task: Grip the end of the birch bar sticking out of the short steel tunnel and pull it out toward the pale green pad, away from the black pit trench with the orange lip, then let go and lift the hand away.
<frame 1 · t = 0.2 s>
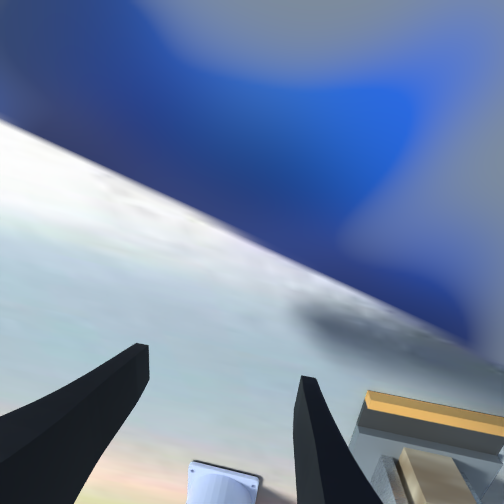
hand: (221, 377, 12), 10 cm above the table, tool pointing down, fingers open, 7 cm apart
tunnel: (408, 469, 25), resting on board
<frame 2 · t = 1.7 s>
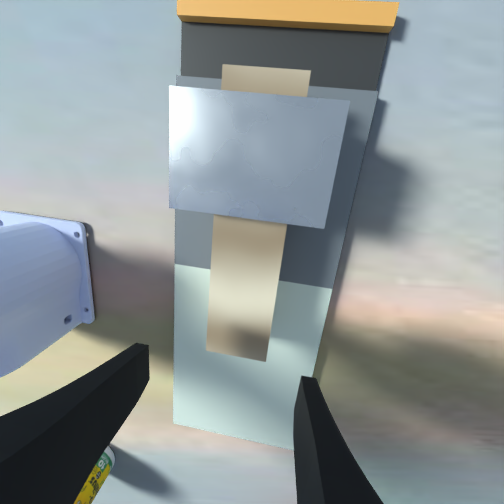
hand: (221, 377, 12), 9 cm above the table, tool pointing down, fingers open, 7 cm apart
bar: (257, 223, 18), point 1 cm above the table, touching board
tunnel: (265, 163, 17), resting on board
board: (250, 293, 21), on the table
supplement bottle: (97, 450, 30), on the table
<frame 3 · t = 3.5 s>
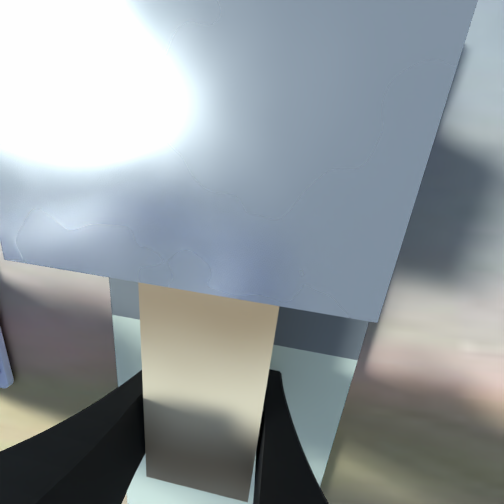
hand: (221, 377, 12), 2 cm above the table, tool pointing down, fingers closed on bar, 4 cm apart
bar: (235, 258, 11), point 1 cm above the table, touching board, gripper
tunnel: (248, 159, 10), resting on board
board: (230, 355, 14), on the table
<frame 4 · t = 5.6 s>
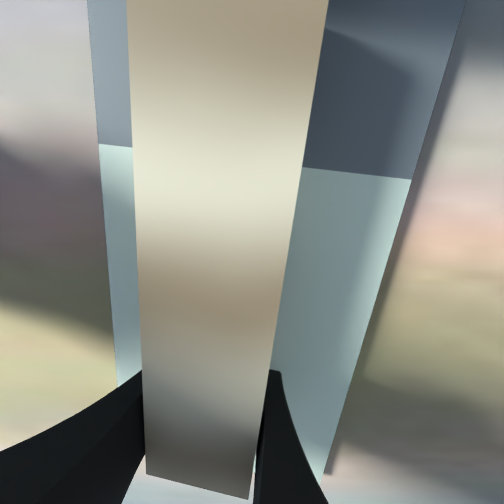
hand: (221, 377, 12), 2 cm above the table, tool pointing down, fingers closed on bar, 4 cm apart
bar: (235, 254, 11), point 1 cm above the table, touching gripper
board: (244, 209, 11), on the table
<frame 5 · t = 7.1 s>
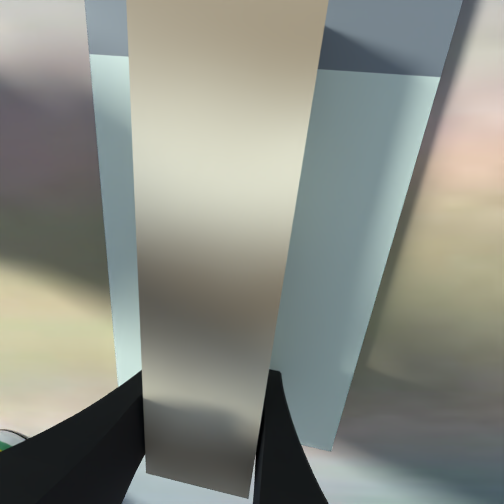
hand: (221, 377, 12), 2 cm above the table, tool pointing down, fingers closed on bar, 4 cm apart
bar: (236, 253, 11), point 1 cm above the table, touching board, gripper
board: (250, 133, 10), on the table
supplement bottle: (18, 450, 20), on the table
when the fingers open (2 cm above the table, at t = 7.8 s): bar stays where it is, resting on board.
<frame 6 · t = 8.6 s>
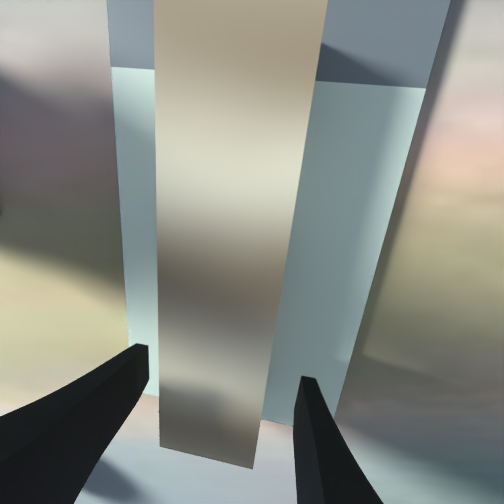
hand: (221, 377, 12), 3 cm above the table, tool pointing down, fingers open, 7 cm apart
bar: (241, 247, 12), point 1 cm above the table, touching board
board: (255, 137, 11), on the table
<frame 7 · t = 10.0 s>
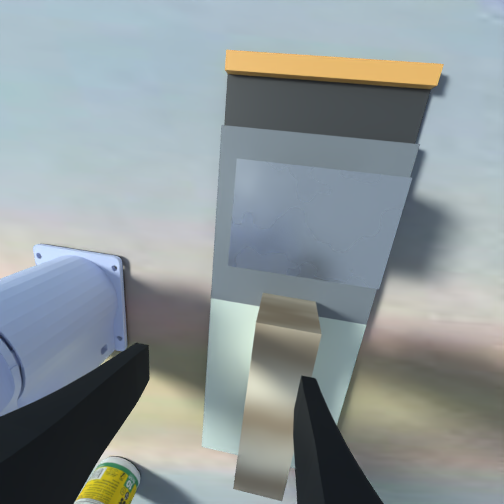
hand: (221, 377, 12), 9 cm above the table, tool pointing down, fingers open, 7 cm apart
bar: (274, 379, 22), point 1 cm above the table, touching board
tunnel: (303, 205, 18), resting on board
board: (282, 325, 21), on the table
supplement bottle: (122, 469, 31), on the table
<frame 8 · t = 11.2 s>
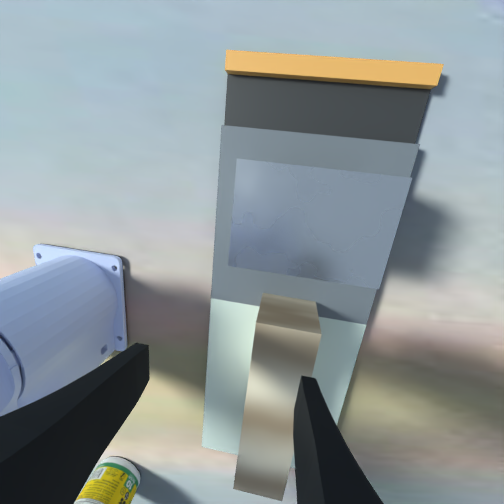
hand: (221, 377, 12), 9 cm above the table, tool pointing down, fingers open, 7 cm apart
bar: (274, 379, 22), point 1 cm above the table, touching board
tunnel: (303, 205, 18), resting on board
board: (282, 325, 21), on the table
supplement bottle: (122, 469, 31), on the table
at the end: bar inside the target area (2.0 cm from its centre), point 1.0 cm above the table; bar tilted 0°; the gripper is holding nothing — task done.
